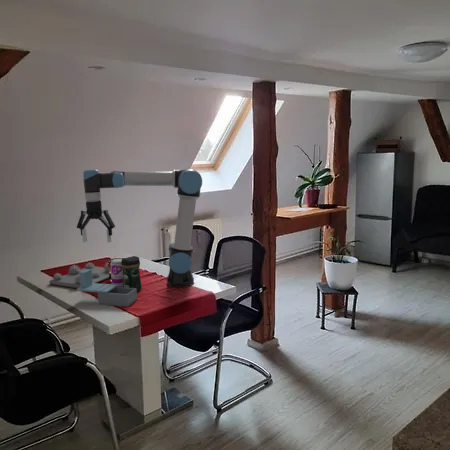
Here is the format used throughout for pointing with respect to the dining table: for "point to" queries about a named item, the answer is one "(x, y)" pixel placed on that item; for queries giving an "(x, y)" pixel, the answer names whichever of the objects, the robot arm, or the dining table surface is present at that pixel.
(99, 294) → the tub
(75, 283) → the decorative tray
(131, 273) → the coffee jar
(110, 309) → the dining table surface
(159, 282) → the dining table surface
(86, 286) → the pale blue stepped block
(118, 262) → the supplement can
